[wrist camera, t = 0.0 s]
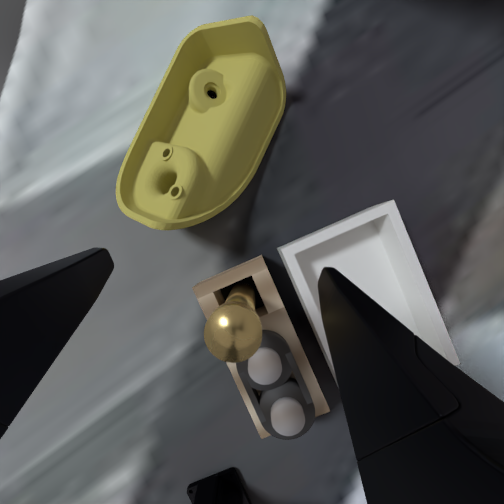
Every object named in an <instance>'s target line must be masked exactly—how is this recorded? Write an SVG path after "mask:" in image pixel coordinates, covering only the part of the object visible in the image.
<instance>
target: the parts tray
mask: <svg viewBox="0 0 504 504" xmlns="http://www.w3.org/2000/svg"><path fill="white" fill-rule="evenodd" d="M277 249H278V252H279V254H280V256H281V259H282V261H283V263H284V265H285V268H286V270H287V272H288V275H289V277H290V279H291V281H292V284H293V286H294V288H295V291H296V293H297V295H298V297H299V300H300V302H301V304H302V307H303V309H304V311H305V313H306V316H307V318H308V320H309V323H310V325H311V327H312V330H313V332H314V334H315V336H316V339H317V341H318V343H319V346H320V348H321V350H322V352H323V355H324V357H325V359H326V362H327V364H328V366H329V368H330V371H331V373H332V375H333V378H334V380H335V382H336V384H337V386H338V383H337V379H336V375H335V371H334V367H333V363H332V359H331V355H330V351H329V347H328V343H327V339H326V335H325V331H324V327H323V322H322V317H321V310H320V302H319V294H318V280H319V277H320V274H321V271H322V269H323V268H324V267H333V268H335V269H337V270H338V271H339V272H340V273H341V274H343V275H344V276H345V277H346V278H348V279H349V280H350V281H351V282H352V283H354V284H355V285H356V286H357V287H359V288H360V289H361V290H362V291H363V292H365V293H366V294H367V295H368V296H369V297H371V298H372V299H373V300H374V301H376V302H377V303H378V304H379V305H380V306H382V307H383V308H384V309H385V310H386V311H388V312H389V313H390V314H391V315H393V316H394V317H395V318H396V319H397V320H399V321H400V322H401V323H402V324H403V325H405V326H406V327H407V328H408V329H410V330H411V331H412V332H413V333H414V335H417V336H418V337H419V338H421V339H422V340H423V341H424V342H425V343H427V344H428V345H429V346H430V347H432V348H433V349H434V350H435V351H437V352H438V353H439V354H440V355H442V356H443V357H444V358H445V359H447V360H448V361H449V362H451V363H452V364H453V365H454V366H456V365H459V364H460V361H459V359H458V356H457V354H456V351H455V349H454V346H453V344H452V342H451V339H450V337H449V334H448V332H447V329H446V327H445V324H444V322H443V319H442V317H441V315H440V312H439V310H438V307H437V305H436V302H435V300H434V297H433V295H432V292H431V290H430V288H429V285H428V283H427V280H426V278H425V275H424V273H423V270H422V268H421V265H420V263H419V261H418V258H417V256H416V253H415V251H414V248H413V246H412V243H411V241H410V238H409V236H408V234H407V231H406V229H405V226H404V224H403V221H402V219H401V216H400V214H399V211H398V209H397V207H396V204H395V202H394V200H391V201H388V202H385V203H381V204H378V205H375V206H372V207H370V208H367V209H365V210H363V211H360V212H358V213H356V214H354V215H351V216H349V217H347V218H345V219H342V220H340V221H338V222H335V223H333V224H331V225H329V226H326V227H324V228H322V229H319V230H317V231H315V232H313V233H310V234H308V235H306V236H304V237H301V238H299V239H297V240H294V241H292V242H290V243H288V244H285V245H283V246H281V247H278V248H277ZM338 388H339V387H338Z"/></svg>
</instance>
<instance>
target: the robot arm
mask: <svg viewBox="0 0 504 504" xmlns="http://www.w3.org/2000/svg"><path fill="white" fill-rule="evenodd" d="M113 269H114V263H113V260H112V258H111V256H110V254H109V252H108V250H107V249H105V248H92V249H89V250H86V251H83V252H80V253H77V254H74V255H72V256H69V257H66V258H63V259H60V260H57V261H55V262H52V263H49V264H46V265H43V266H40V267H37V268H35V269H32V270H29V271H26V272H23V273H20V274H17V275H15V276H12V277H9V278H6V279H3V280H0V439H1V437H2V436H3V435H4V433H5V432H6V430H7V429H8V426H9V425H10V424H11V423H12V421H13V420H14V418H15V417H16V415H17V414H18V413H19V411H20V410H21V408H22V407H23V405H24V404H25V402H26V401H27V400H28V398H29V397H30V395H31V394H32V392H33V391H34V389H35V388H36V387H37V385H38V384H39V382H40V381H41V379H42V378H43V376H44V375H45V374H46V372H47V371H48V369H49V368H50V366H51V365H52V363H53V362H54V361H55V359H56V358H57V356H58V355H59V353H60V352H61V350H62V349H63V348H64V346H65V345H66V343H67V342H68V340H69V339H70V337H71V336H72V335H73V333H74V332H75V330H76V329H77V327H78V326H79V324H80V323H81V322H82V320H83V319H84V317H85V316H86V314H87V313H88V311H89V310H90V309H91V307H92V306H93V304H94V303H95V301H96V300H97V298H98V296H99V294H100V293H101V291H102V289H103V287H104V285H105V284H106V282H107V280H108V278H109V276H110V275H111V273H112V271H113ZM318 294H319V302H320V310H321V317H322V322H323V327H324V331H325V335H326V339H327V343H328V347H329V351H330V355H331V359H332V363H333V367H334V371H335V375H336V379H337V383H338V387H339V391H340V395H341V399H342V403H343V407H344V411H345V415H346V419H347V423H348V427H349V431H350V435H351V439H352V443H353V447H354V451H355V455H356V459H357V464H358V468H359V472H360V476H361V480H362V484H363V488H364V492H365V496H366V500H367V504H504V402H503V401H501V400H500V399H499V398H497V397H496V396H495V395H493V394H492V393H491V392H489V391H488V390H487V389H485V388H484V387H482V386H481V385H480V384H478V383H477V382H476V381H474V380H473V379H472V378H470V377H469V376H468V375H466V374H465V373H464V372H462V371H461V370H460V369H458V368H457V367H456V366H454V365H453V364H452V363H451V362H449V361H448V360H447V359H445V358H444V357H443V356H442V355H440V354H439V353H438V352H437V351H435V350H434V349H433V348H432V347H430V346H429V345H428V344H427V343H425V342H424V341H423V340H422V339H421V338H419V337H418V336H417V335H414V333H413V332H412V331H411V330H410V329H408V328H407V327H406V326H405V325H403V324H402V323H401V322H400V321H399V320H397V319H396V318H395V317H394V316H393V315H391V314H390V313H389V312H388V311H386V310H385V309H384V308H383V307H382V306H380V305H379V304H378V303H377V302H376V301H374V300H373V299H372V298H371V297H369V296H368V295H367V294H366V293H365V292H363V291H362V290H361V289H360V288H359V287H357V286H356V285H355V284H354V283H352V282H351V281H350V280H349V279H348V278H346V277H345V276H344V275H343V274H341V273H340V272H339V271H338V270H337V269H335V268H333V267H324V268H323V269H322V271H321V274H320V277H319V280H318ZM187 494H188V496H189V498H190V500H191V502H192V504H251V503H250V500H249V498H248V496H247V494H246V492H245V490H244V488H243V485H242V483H241V481H240V479H239V477H238V475H237V473H236V470H235V469H234V468H230V469H227V470H225V471H222V472H219V473H217V474H214V475H212V476H209V477H207V478H204V479H202V480H199V481H197V482H194V483H192V484H190V485H189V486H188V488H187Z"/></svg>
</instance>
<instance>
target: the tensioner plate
mask: <svg viewBox="0 0 504 504" xmlns="http://www.w3.org/2000/svg"><path fill="white" fill-rule="evenodd" d="M251 275H252V278H253V280H254V282H255V284H256V287H257V289H258V291H259V293H260V296H261V298H262V300H263V302H264V306H262V307H260V308H257V309H255V311H256V312H257V314H258V316H259V317H260V320H261V324H262V341H261V344H260V347H259V349H258V350H257V352H256V353H255V354H254V355H253V356H252V357H250V358H249V359H247V360H245V361H242V362H237V363H230V362H226V363H227V365H228V367H229V369H230V371H231V373H232V376H233V378H234V380H235V382H236V384H237V387H238V389H239V391H240V393H241V395H242V397H243V400H244V402H245V404H246V406H247V408H248V411H249V413H250V415H251V417H252V419H253V421H254V424H255V426H256V428H257V430H258V432H259V435H260V437H261V439H263V438H265V437H268V436H270V435H272V436H274V437H276V438H279V439H285V440H289V439H295V438H298V437H300V436H302V435H304V434H305V433H306V432H307V431H308V430H309V429H310V428H311V426H312V424H313V422H314V419H315V417H317V416H320V415H322V414H325V413H327V412H330V409H329V407H328V405H327V402H326V400H325V398H324V396H323V393H322V391H321V389H320V387H319V384H318V382H317V380H316V377H315V375H314V373H313V371H312V368H311V366H310V364H309V362H308V359H307V357H306V355H305V353H304V350H303V348H302V346H301V343H300V341H299V339H298V337H297V334H296V332H295V330H294V328H293V325H292V323H291V321H290V318H289V316H288V314H287V312H286V309H285V307H284V305H283V303H282V300H281V298H280V296H279V293H278V291H277V289H276V287H275V284H274V282H273V280H272V278H271V275H270V273H269V271H268V269H267V266H266V264H265V262H264V259H263V257H262V255H260V256H258V257H256V258H253V259H251V260H249V261H247V262H244V263H242V264H240V265H238V266H235V267H233V268H231V269H228V270H226V271H224V272H222V273H219V274H217V275H215V276H212V277H210V278H208V279H206V280H203V281H201V282H199V283H198V284H197V285H195V286H194V287H192V288H193V291H194V293H195V295H196V297H197V299H198V301H199V304H200V306H201V308H202V310H203V312H204V315H205V317H206V319H207V320H208V319H209V317H210V316H211V314H212V312H213V311H214V310H215V309H216V308H217V307H218V306H220V305H222V304H223V303H225V299H224V297H223V295H222V293H221V290H220V289H221V288H224V287H226V286H228V285H230V284H233V283H235V282H237V281H240V280H242V279H244V278H246V277H249V276H251Z"/></svg>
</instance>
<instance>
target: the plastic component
mask: <svg viewBox="0 0 504 504" xmlns="http://www.w3.org/2000/svg"><path fill="white" fill-rule="evenodd" d="M209 90H212V91H214V92H215V93H216V95H217V98H215V99H212V98H210V97H209V96H208V94H207V91H209ZM285 102H286V86H285V80H284V76H283V73H282V70H281V67H280V65H279V62H278V59H277V57H276V54H275V51H274V49H273V46H272V43H271V40H270V38H269V35H268V32H267V30H266V27H265V26H264V24H263V23H262V22H261V21H260V20H259V19H258V18H257V17H254V16H246V17H241V18H236V19H230V20H225V21H220V22H214V23H209V24H204V25H201V26H199V27H197V28H195V29H194V30H192V31H191V32H190V33H189V34H188V35H187V36H186V37H185V38H184V39H183V40H182V42H181V43H180V45H179V46H178V48H177V50H176V52H175V54H174V56H173V58H172V60H171V63H170V65H169V67H168V69H167V71H166V73H165V75H164V77H163V79H162V81H161V83H160V85H159V87H158V89H157V91H156V93H155V96H154V98H153V100H152V102H151V104H150V106H149V108H148V110H147V112H146V114H145V116H144V118H143V120H142V122H141V124H140V126H139V128H138V131H137V133H136V135H135V137H134V139H133V141H132V143H131V145H130V147H129V149H128V152H127V154H126V156H125V158H124V161H123V163H122V166H121V168H120V172H119V175H118V179H117V184H116V198H117V203H118V205H119V208H120V209H121V211H122V212H123V213H124V214H125V215H127V216H128V217H130V218H132V219H134V220H136V221H138V222H140V223H142V224H144V225H146V226H148V227H150V228H154V229H159V230H175V229H181V228H186V227H190V226H194V225H196V224H199V223H201V222H204V221H206V220H208V219H210V218H212V217H214V216H215V215H217V214H218V213H220V212H221V211H223V210H224V209H225V208H227V207H228V206H229V205H230V204H232V203H233V202H234V201H235V200H236V199H237V198H238V197H239V196H240V194H241V193H242V192H243V191H244V190H245V188H246V187H247V185H248V184H249V183H250V181H251V179H252V178H253V176H254V174H255V173H256V171H257V169H258V167H259V164H260V162H261V160H262V158H263V156H264V154H265V152H266V149H267V147H268V145H269V143H270V141H271V139H272V137H273V134H274V132H275V130H276V128H277V126H278V124H279V122H280V119H281V117H282V115H283V112H284V108H285Z"/></svg>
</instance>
